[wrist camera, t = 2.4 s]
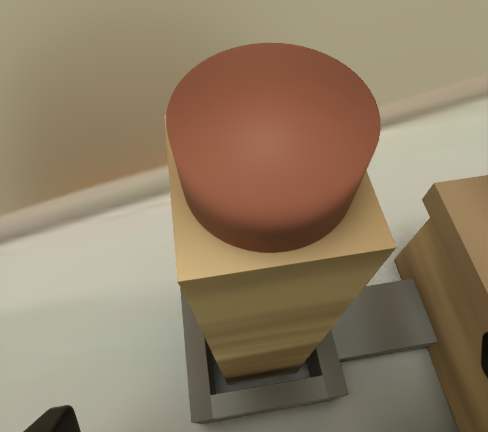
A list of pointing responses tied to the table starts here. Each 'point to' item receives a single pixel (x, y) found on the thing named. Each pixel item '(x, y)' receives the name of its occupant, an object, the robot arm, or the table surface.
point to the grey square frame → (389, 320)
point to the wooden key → (272, 201)
